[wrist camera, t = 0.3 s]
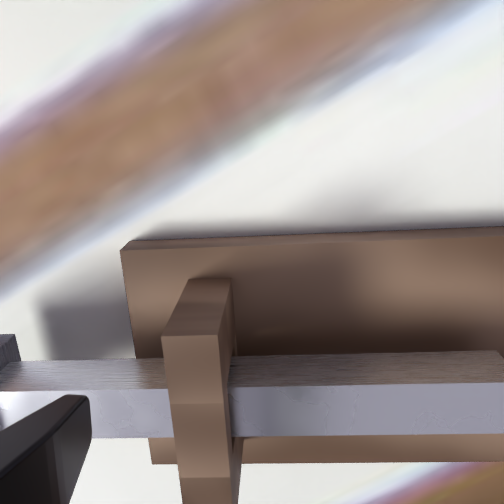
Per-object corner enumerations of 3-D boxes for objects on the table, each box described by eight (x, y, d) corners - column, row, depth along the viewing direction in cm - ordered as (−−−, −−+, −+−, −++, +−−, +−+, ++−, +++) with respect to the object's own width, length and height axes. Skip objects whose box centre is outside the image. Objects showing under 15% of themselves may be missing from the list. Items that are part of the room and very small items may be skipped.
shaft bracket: (604, 439, 25) (720, 562, 18) (158, 444, 26) (120, 558, 20) (651, 220, 21) (819, 276, 15) (129, 241, 23) (70, 299, 16)
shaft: (481, 404, 22) (523, 468, 19) (-5, 412, 24) (-58, 472, 20) (490, 321, 21) (537, 371, 17) (-26, 335, 22) (-87, 383, 19)
